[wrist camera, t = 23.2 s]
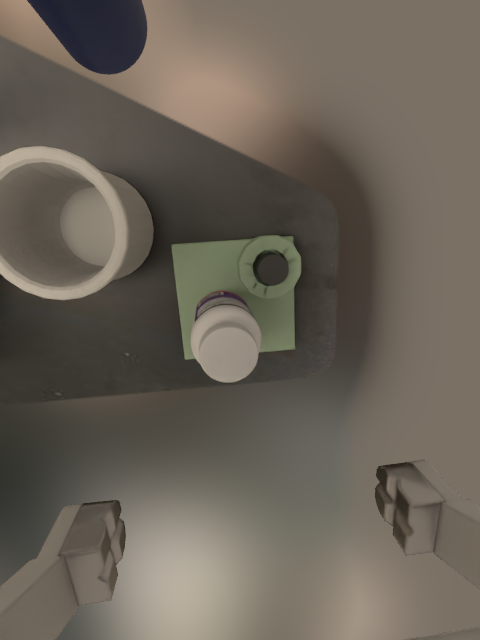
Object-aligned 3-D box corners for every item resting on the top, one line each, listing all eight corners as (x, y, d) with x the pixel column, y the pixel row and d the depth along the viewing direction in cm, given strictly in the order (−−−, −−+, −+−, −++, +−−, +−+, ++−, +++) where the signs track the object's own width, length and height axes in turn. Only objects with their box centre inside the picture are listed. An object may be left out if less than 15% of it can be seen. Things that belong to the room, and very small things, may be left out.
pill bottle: (240, 349, 32) (254, 400, 22) (187, 335, 31) (178, 382, 21) (257, 297, 30) (279, 328, 21) (202, 281, 29) (200, 306, 20)
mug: (135, 160, 27) (97, 124, 18) (168, 264, 30) (150, 281, 20) (-7, 197, 27) (-123, 180, 18) (39, 298, 30) (-41, 332, 20)
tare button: (254, 253, 28) (257, 255, 26) (283, 251, 28) (288, 253, 27) (255, 283, 29) (258, 286, 27) (284, 280, 29) (289, 284, 27)
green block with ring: (172, 241, 30) (168, 242, 27) (292, 233, 30) (300, 233, 28) (185, 354, 33) (183, 366, 30) (293, 344, 34) (301, 355, 31)
